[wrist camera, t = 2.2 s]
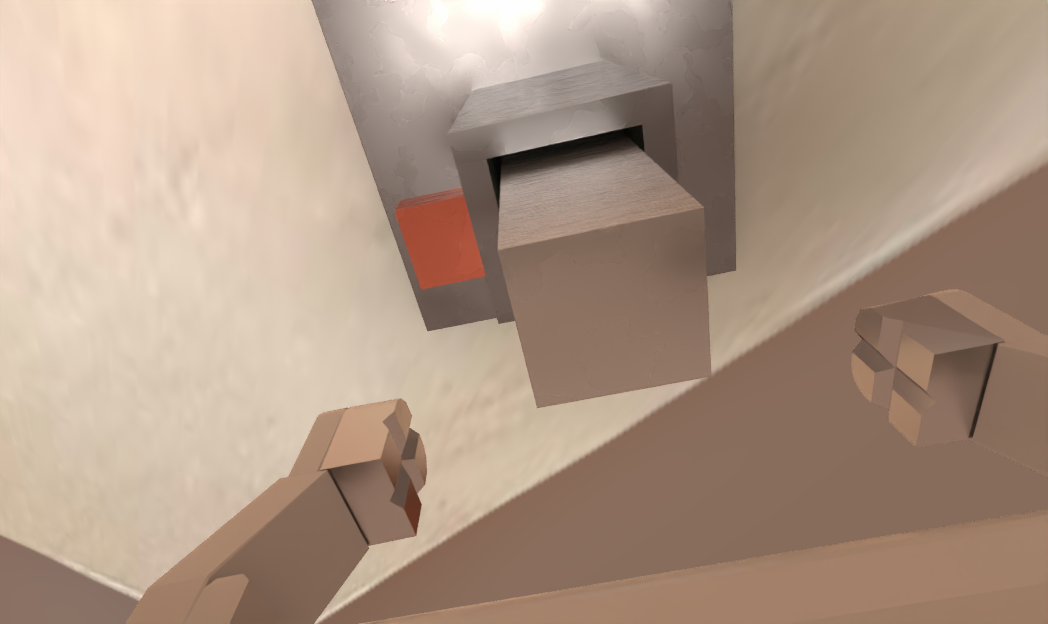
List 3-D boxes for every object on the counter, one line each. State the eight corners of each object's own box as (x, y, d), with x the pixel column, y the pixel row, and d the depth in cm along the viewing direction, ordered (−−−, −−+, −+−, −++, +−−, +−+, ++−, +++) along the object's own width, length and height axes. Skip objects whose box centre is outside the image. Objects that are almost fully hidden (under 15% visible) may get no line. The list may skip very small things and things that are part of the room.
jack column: (587, 95, 26) (709, 201, 10) (599, 181, 28) (715, 378, 12) (501, 115, 26) (491, 246, 11) (519, 198, 28) (533, 412, 13)
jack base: (718, -125, 24) (931, -278, 12) (727, 260, 34) (851, 393, 22) (313, -22, 26) (138, -65, 14) (430, 319, 35) (389, 475, 23)
